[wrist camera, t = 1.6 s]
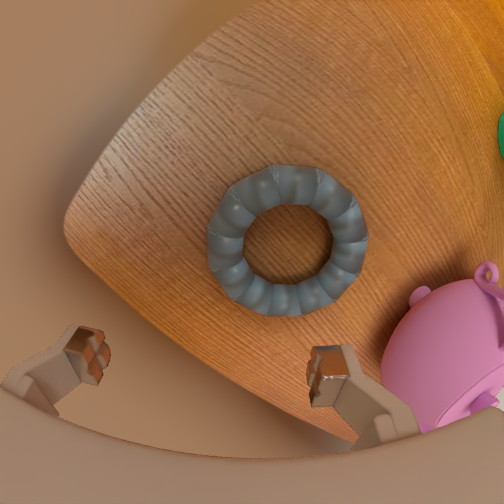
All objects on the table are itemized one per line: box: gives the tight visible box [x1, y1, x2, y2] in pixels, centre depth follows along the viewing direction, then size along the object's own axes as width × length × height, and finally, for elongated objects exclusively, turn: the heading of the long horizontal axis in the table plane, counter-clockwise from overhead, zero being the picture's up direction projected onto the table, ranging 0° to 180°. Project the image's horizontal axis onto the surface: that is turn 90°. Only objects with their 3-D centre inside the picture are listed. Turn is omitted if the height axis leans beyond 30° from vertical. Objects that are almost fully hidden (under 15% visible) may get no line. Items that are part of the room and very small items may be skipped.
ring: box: [206, 165, 369, 317], centre depth 18 cm, size 11×11×2 cm
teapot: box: [380, 260, 504, 433], centre depth 17 cm, size 20×14×12 cm
